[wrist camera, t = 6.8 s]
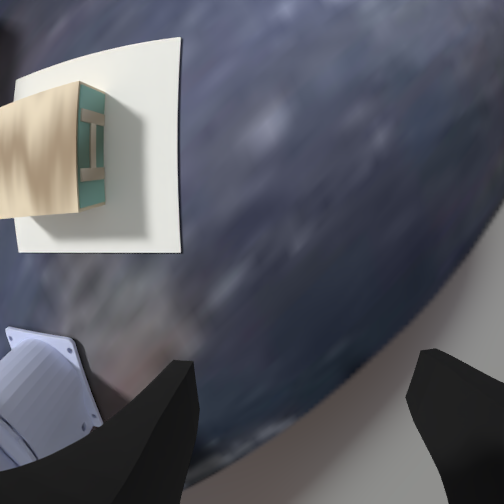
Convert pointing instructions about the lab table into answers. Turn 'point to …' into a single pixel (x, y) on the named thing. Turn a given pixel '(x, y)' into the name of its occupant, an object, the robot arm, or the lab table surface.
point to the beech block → (52, 152)
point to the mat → (120, 154)
